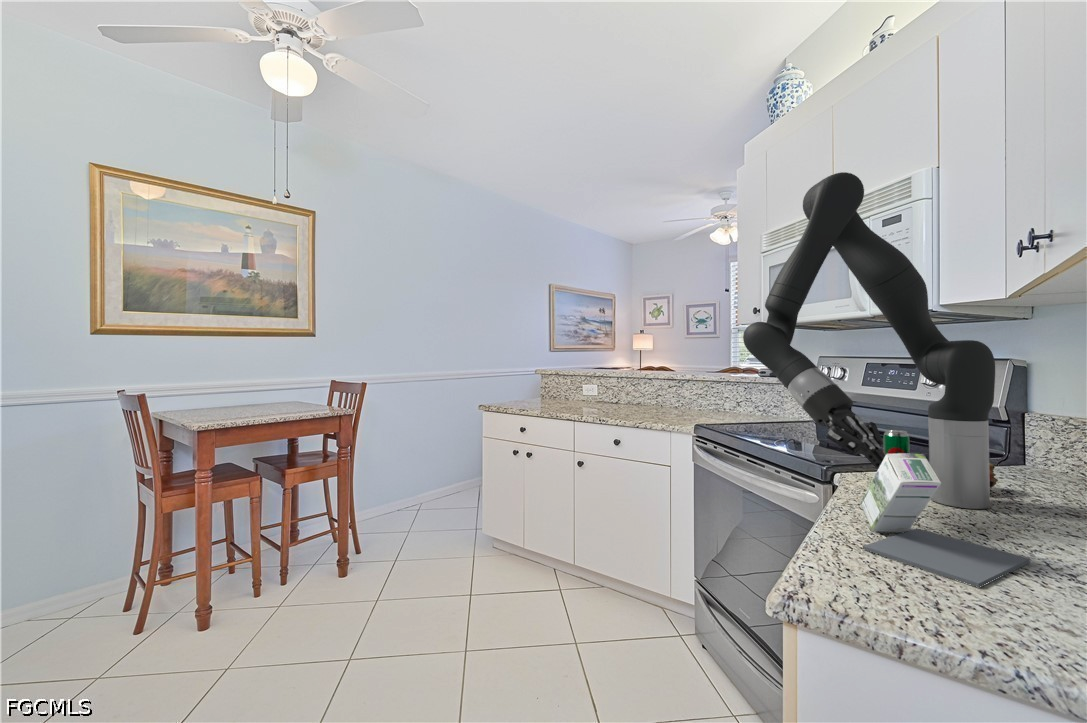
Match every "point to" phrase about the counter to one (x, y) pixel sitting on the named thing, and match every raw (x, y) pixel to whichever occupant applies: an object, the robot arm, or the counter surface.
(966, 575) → the mat
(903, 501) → the syrup box
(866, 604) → the counter surface
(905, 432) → the soda can
